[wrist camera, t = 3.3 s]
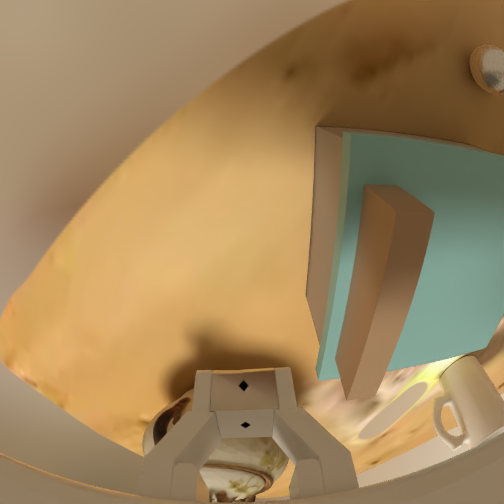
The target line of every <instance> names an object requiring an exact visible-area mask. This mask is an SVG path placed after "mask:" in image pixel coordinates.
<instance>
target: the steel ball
mask: <svg viewBox="0 0 504 504" xmlns="http://www.w3.org/2000/svg"><path fill="white" fill-rule="evenodd" d="M469 64H470V71H471V74H472V76H473V78H474V80H475V81H476V82H477V84H478V85H479V86H480V87H481V88H482V89H484V90H485V91H487V92H489V93H491V94H494V95H504V50H502V49H501V48H499V47H497V46H495V45H491V44H484V45H480V46H478V47H477V48H475V49H474V51H473V52H472V54H471V56H470V62H469Z"/></svg>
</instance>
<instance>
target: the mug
mask: <svg viewBox="0 0 504 504" xmlns="http://www.w3.org/2000/svg"><path fill="white" fill-rule="evenodd" d="M439 383H440V386H441V388H442V391H443V393H444V394H443V395H442V396H439V397H436V398H435V400H434V402H433V424H434V428H435V431H436V433H437V435H438V436H439V437H440V439H441V440H442V441H443V442H444V443H446V444H447V445H448V446H449V447H450V448H451V449H452V451H455V450H456V449H458V448H460V447H461V446H462V444H463V443H465V444H466V447H467V449H468V450H470V449H472V448H474V447H476V446H478V445H480V444H482V443H484V442H486V441H488V440H490V439H492V438H494V437H495V436H497V435H499V434H501V433H503V432H504V401H503V399H502V397H501V396H500V394H499V392H498V391H497V389H496V388H495V386H494V384H493V383H492V381H491V380H490V378H489V376H488V375H487V373H486V372H485V370H484V369H483V367H482V366H481V364H480V363H479V362H478V360H477V359H476V357H475V356H472V355H470V356H465V357H463V358H461V359H459V360H457V361H456V362H455V363H453V364H452V365H451V366H450V367H448V368H447V369H446V371H445V372H444V373H443V374H442V376H441V378H440V381H439ZM446 405H449V406H450V408H451V411H452V413H453V415H454V418H455V420H456V422H457V425H458V427H459V429H460V432H461V434H462V435H460V436H457V437H456V436H452V435H450V434H449V433H447V431H446V430H445V429H444V427H443V424H442V421H441V410H442V407H443V406H446Z"/></svg>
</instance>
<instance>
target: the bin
mask: <svg viewBox="0 0 504 504" xmlns="http://www.w3.org/2000/svg"><path fill="white" fill-rule="evenodd" d="M343 131H348V132H361V133H373V134H383V135H392V136H401V137H409V138H416V139H423V140H430V141H436V142H442V143H448V144H454V145H459V146H464V147H469V148H474V149H479V150H483V149H480V148H478V147H475V146H472V145H469V144H465V143H460V142H454V141H449V140H443V139H438V138H432V137H425V136H419V135H412V134H404V133H396V132H388V131H378V130H368V129H356V128H343V127H325V126H315V159H314V184H313V204H312V221H311V237H310V250H309V263H308V275H307V286H306V297H307V301H308V305H309V308H310V312H311V315H312V319H313V322H314V326H315V330H316V333H317V337H318V341H319V345H320V343H321V337H322V331H323V325H324V319H325V313H326V306H327V299H328V292H329V285H330V278H331V270H332V262H333V254H334V245H335V236H336V227H337V216H338V205H339V193H340V180H341V165H342V147H343ZM483 151H486V150H483Z"/></svg>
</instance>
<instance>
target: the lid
mask: <svg viewBox="0 0 504 504" xmlns="http://www.w3.org/2000/svg"><path fill="white" fill-rule="evenodd" d="M503 314H504V155H501V154H496V153H492V152H488V151H483V150H479V149H474V148H469V147H464V146H459V145H454V144H448V143H442V142H436V141H430V140H423V139H416V138H409V137H401V136H392V135H383V134H373V133H361V132H348V131H343V147H342V165H341V180H340V193H339V205H338V216H337V227H336V236H335V245H334V254H333V262H332V270H331V278H330V285H329V292H328V299H327V306H326V313H325V319H324V325H323V331H322V337H321V343H320V348H319V354H318V359H317V365H316V372H317V377H318V381H322V380H331V379H339V378H340V379H341V382H342V386H343V389H344V393H345V396H346V400H352V399H358V398H364V397H370V396H375V395H376V393H377V390H378V388H379V386H380V384H381V382H382V379H383V377H384V375H385V372H386V371H392V370H397V369H403V368H408V367H413V366H417V365H422V364H427V363H431V362H435V361H440V360H444V359H448V358H452V357H455V356H459V355H463V354H467V353H470V352H474V351H477V350H481V349H484V348H486V347H487V345H488V343H489V342H490V340H491V338H492V336H493V334H494V332H495V330H496V328H497V326H498V324H499V322H500V320H501V318H502V316H503Z"/></svg>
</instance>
